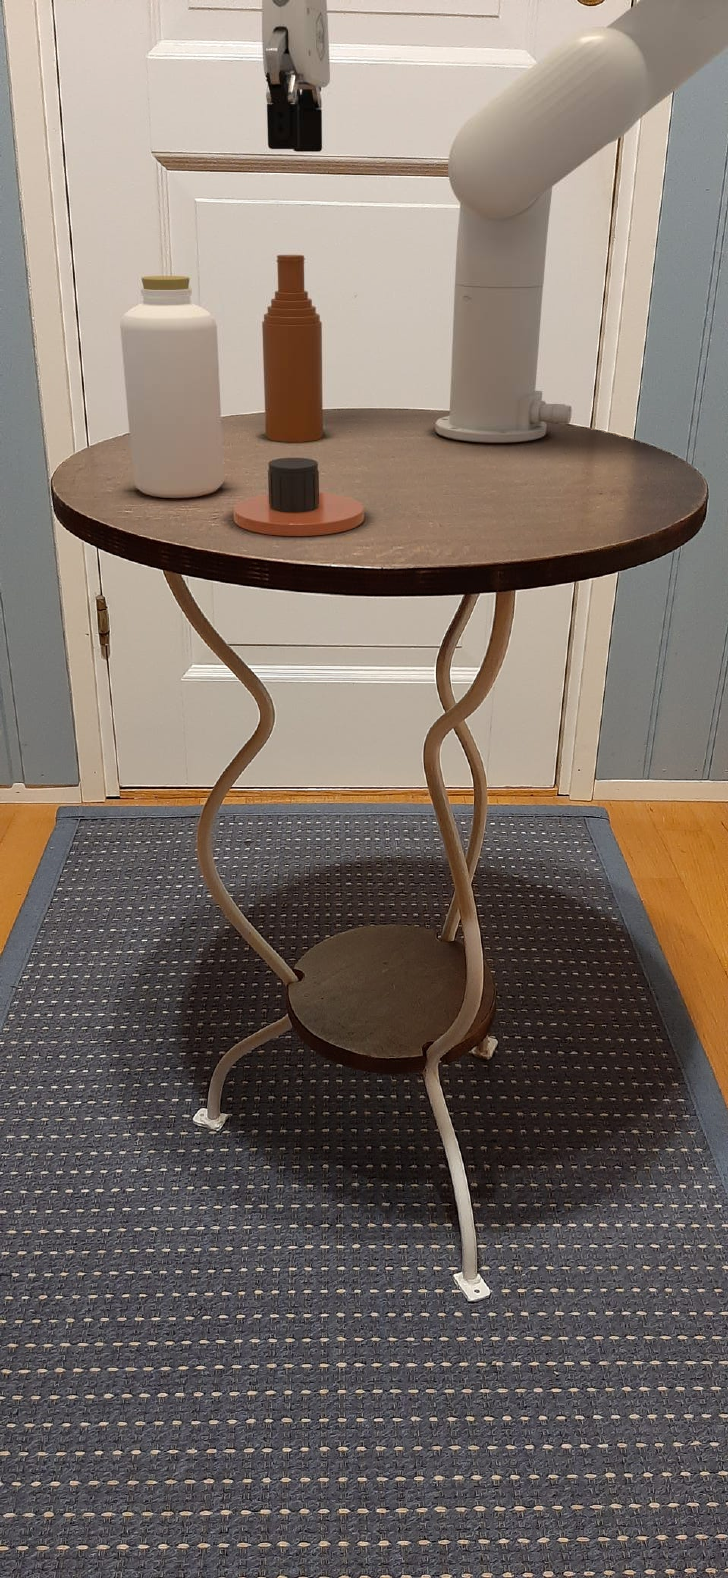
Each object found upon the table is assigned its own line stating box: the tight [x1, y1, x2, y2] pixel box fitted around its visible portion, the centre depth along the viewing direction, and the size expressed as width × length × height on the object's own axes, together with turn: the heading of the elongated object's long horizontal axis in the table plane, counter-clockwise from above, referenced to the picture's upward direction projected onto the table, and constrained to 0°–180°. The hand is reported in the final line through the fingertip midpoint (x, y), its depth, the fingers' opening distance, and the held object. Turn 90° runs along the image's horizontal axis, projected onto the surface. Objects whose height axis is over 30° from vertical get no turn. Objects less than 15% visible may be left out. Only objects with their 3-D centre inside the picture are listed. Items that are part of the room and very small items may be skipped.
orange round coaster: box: [232, 492, 365, 537], centre depth 97 cm, size 11×11×1 cm
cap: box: [267, 457, 320, 513], centre depth 96 cm, size 4×4×4 cm
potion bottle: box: [119, 275, 225, 499], centre depth 102 cm, size 8×8×18 cm
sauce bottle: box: [261, 254, 324, 443], centre depth 125 cm, size 6×6×18 cm
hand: (296, 150), depth 122 cm, fingers open, 9 cm apart
